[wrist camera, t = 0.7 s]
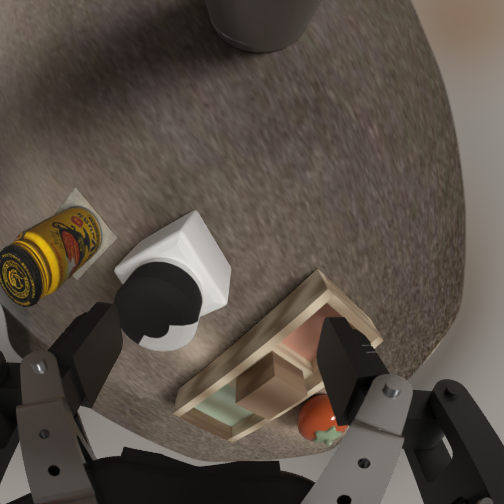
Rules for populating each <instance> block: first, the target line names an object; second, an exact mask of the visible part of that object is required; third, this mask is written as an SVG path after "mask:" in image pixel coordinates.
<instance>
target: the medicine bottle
mask: <svg viewBox="0 0 504 504" xmlns="http://www.w3.org/2000/svg"><path fill="white" fill-rule="evenodd" d="M114 272H115V274H116V275H117V277H118V278H119V280H120V281H121V282H122V284H123V285H122V286H121V288H120V289H119V290H118V292H117V294H116V297H115V301H114V304H116V306H117V308H118V314H119V320H120V326H121V328H122V330H123V331H124V332H125V334H126V335H127V336H128V337H129V338H130V339H132V340H133V341H134V342H136V343H137V344H139V345H141V346H143V347H145V348H148V349H151V350H155V351H171V350H176V349H179V348H181V347H183V346H185V345H186V344H188V343H189V342H190V341H191V340H192V338H193V337H194V335H195V333H196V330H197V326H198V322H199V318H200V317H201V316H203V315H205V314H208V313H210V312H212V311H214V310H217V309H219V308H221V307H223V306H225V305H226V304H227V302H228V293H229V284H230V276H231V267H230V265H229V263H228V262H227V260H226V258H225V257H224V255H223V253H222V252H221V250H220V248H219V247H218V245H217V243H216V242H215V240H214V238H213V237H212V235H211V233H210V232H209V230H208V228H207V226H206V225H205V223H204V221H203V220H202V218H201V216H200V214H199V213H198V211H196V210H194V211H191V212H190V213H188V214H186V215H184V216H183V217H181V218H179V219H177V220H176V221H174V222H172V223H170V224H169V225H167V226H165V227H164V228H162V229H160V230H158V231H157V232H155V233H153V234H152V235H150V236H148V237H147V238H145V239H143V240H142V241H140V242H139V243H138V244H137V245H136V246H135V247H134V248H133V249H132V250H131V252H130V253H129V254H128V255H127V256H126V257H125V258H124V259H123V260H122V261H121V262H120V263H119V264H118V265H117V266H116V267H115V269H114Z"/></svg>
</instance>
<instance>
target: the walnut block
mask: <svg viewBox="0 0 504 504" xmlns="http://www.w3.org/2000/svg"><path fill="white" fill-rule="evenodd" d="M307 395H308V394H307V390H306V385H305V380H304V376H303V371H302V370H301V369H299V368H298V367H296V366H294V365H293V364H291V363H290V362H288V361H287V360H285V359H284V358H282V357H281V356H279V355H278V354H276V353H275V352H273V351H271V352H270V353H269V354H267V355H266V356H265V357H264V358H262V359H261V360H260V361H259V362H257V363H256V364H255V365H253V366H252V367H251V368H250V369H248V370H247V371H246V372H244V373H243V374H242V375H240V376H239V377H238V378H236V399H235V404H237V405H239V406H241V407H243V408H245V409H247V410H249V411H250V412H252V413H254V414H256V415H259V416H261V417H263V418H265V419H267V420H270V419H271V418H273V417H275V416H276V415H278V414H280V413H281V412H283V411H284V410H286V409H288V408H289V407H291V406H292V405H294V404H295V403H297V402H298V401H300V400H301V399H303V398H304V397H306V396H307Z"/></svg>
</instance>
